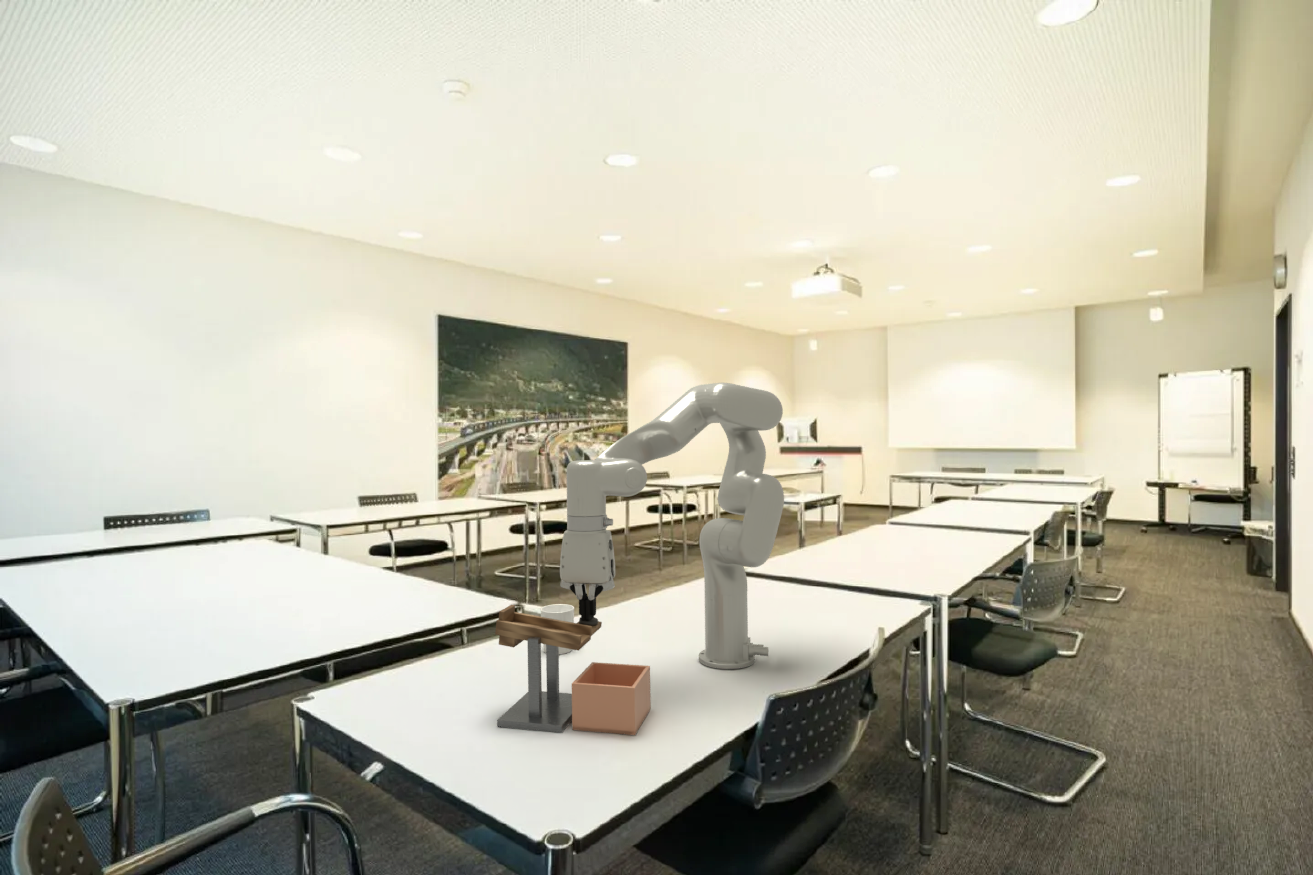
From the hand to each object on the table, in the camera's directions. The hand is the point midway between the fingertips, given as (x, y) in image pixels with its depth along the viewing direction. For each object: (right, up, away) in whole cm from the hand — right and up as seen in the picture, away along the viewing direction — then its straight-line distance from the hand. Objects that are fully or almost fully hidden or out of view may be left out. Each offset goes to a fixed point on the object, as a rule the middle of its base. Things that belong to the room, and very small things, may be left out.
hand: (587, 618), depth 132 cm
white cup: (-10, -15, +29) cm, 35 cm away
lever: (-7, -3, -3) cm, 8 cm away
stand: (-7, -15, -7) cm, 18 cm away
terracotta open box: (+6, -15, -10) cm, 19 cm away
